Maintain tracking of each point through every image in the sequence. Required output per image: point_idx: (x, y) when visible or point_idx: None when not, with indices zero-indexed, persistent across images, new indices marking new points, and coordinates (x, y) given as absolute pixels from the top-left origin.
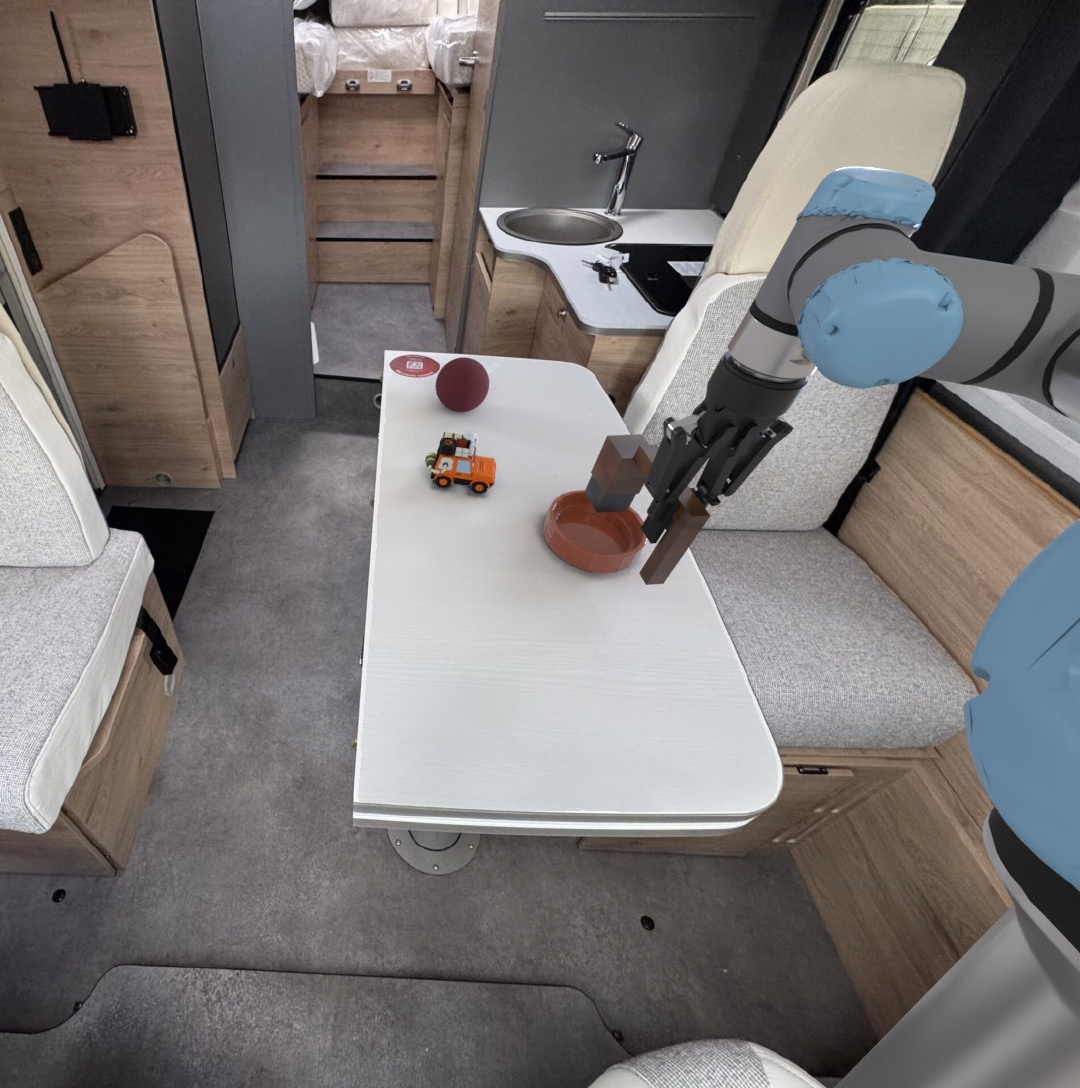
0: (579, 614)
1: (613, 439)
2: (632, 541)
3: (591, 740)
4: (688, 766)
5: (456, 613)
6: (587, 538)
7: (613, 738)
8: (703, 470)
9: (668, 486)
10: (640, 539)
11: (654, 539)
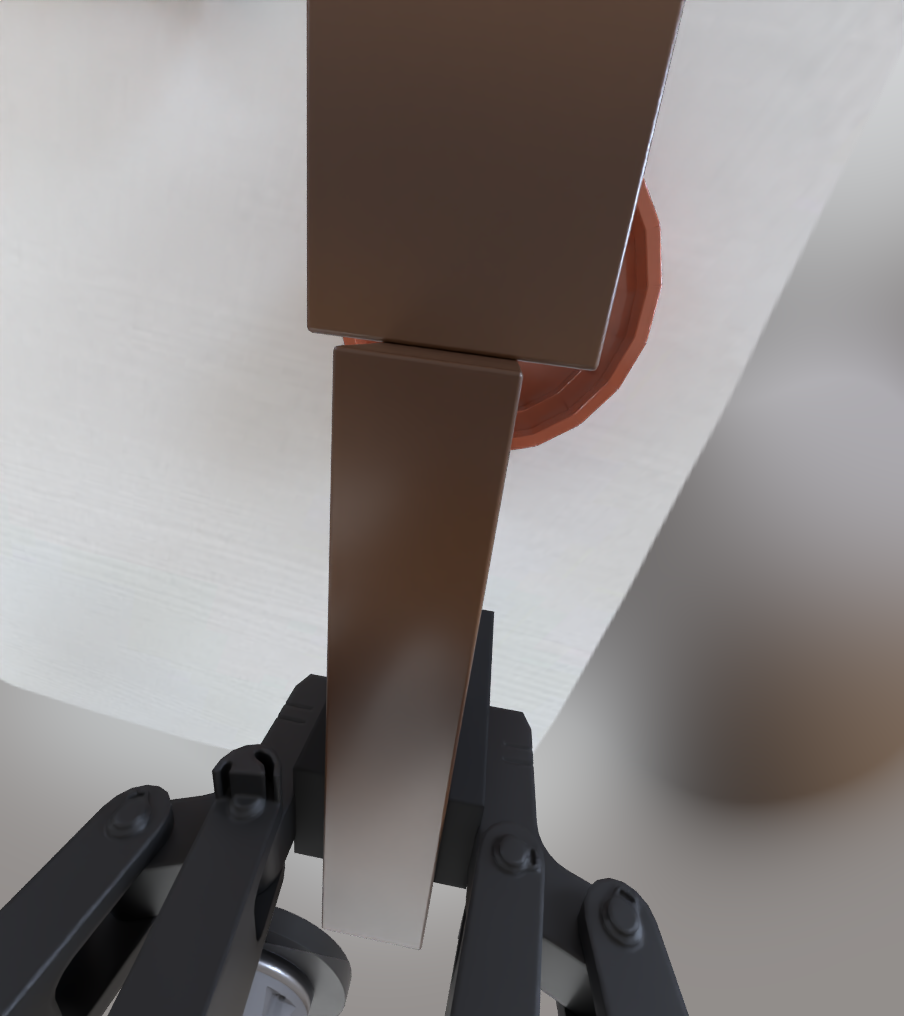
0: None
1: (338, 20)
2: (582, 371)
3: (280, 703)
4: None
5: (104, 452)
6: None
7: None
8: (451, 1011)
9: (103, 1009)
10: (602, 380)
11: None
